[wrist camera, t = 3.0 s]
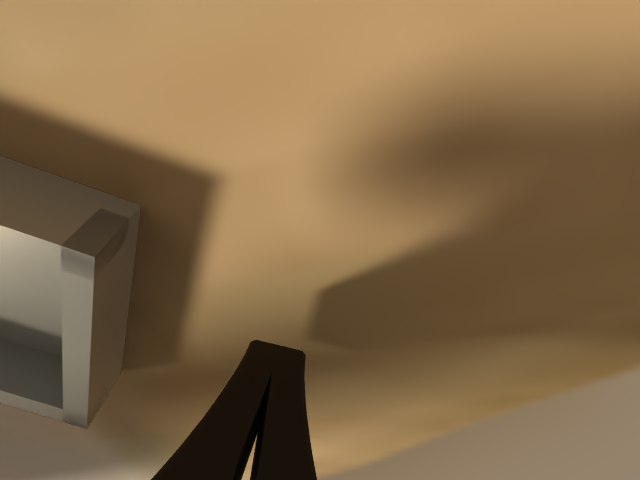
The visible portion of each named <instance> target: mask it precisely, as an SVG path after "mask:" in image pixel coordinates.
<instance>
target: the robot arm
mask: <svg viewBox="0 0 640 480" xmlns="http://www.w3.org/2000/svg"><path fill="white" fill-rule="evenodd" d="M305 356H306V355H305V354H304V353H303V351H300V350H296V349H292V348H288V347H283V346H279V345H275V344H271V343H267V342H262V341H258V340H254V341H252V342H250V345H249V347H248V349H247V351H246V353H245V355H244V357H243V359H242V361H241V362H240V364H239V366H238V368H237V369H236V371H235V373H234V374H233V376H232V377H231V379H230V380H229V382H228V384H227V385H226V387H225V388H224V389H223V391H222V392H221V394H220V395H219V396H218V398H217V399H216V401H215V402H214V404H213V405H212V406H211V408H210V409H209V411H208V412H207V413H206V415H205V416H204V417H203V418H202V420H201V421H200V422H199V424H198V425H197V426H196V427H195V429H194V430H193V431H192V432H191V434H190V435H189V436H188V437H187V439H186V440H185V441H184V442H183V444H182V445H181V446H180V447H179V448H178V450H177V451H176V452H175V453H174V454H173V455H172V457H171V458H170V459H169V460H168V461H167V462H166V463H165V465H164V466H163V467H162V468H161V469H160V470H159V471H158V472H157V474H156V475H155V476H154V477H153V478H152V479H151V480H241V479H242V476H243V473H244V470H245V468H246V465H247V462H248V459H249V456H250V453H251V450H252V447H253V444H254V441H255V439H256V436H257V440H256V446H255V452H254V458H253V464H252V471H251V477H250V480H317V477H316V472H315V466H314V461H313V455H312V449H311V443H310V435H309V428H308V420H307V411H306V399H305V380H304V371H305ZM257 433H258V434H257Z"/></svg>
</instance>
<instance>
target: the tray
mask: <svg viewBox="0 0 640 480" xmlns="http://www.w3.org/2000/svg"><path fill="white" fill-rule="evenodd" d="M140 211H141V205H139V204H136V203H133V202H130V201H128V200H125V199H122V198H119V197H116V196H113V195H111V194H108V193H105V192H102V191H99V190H96V189H94V188H91V187H88V186H85V185H82V184H79V183H77V182H74V181H71V180H68V179H65V178H62V177H60V176H57V175H54V174H51V173H48V172H45V171H43V170H40V169H37V168H34V167H31V166H28V165H26V164H23V163H20V162H17V161H14V160H11V159H9V158H6V157H3V156H0V403H2V404H5V405H9V406H12V407H15V408H19V409H22V410H25V411H29V412H32V413H35V414H39V415H42V416H46V417H49V418H52V419H56V420H59V421H62V422H66V423H69V424H72V425H76V426H79V427H82V428H86V429H87V428H88V426H89V424H90V423H91V421H92V419H93V418H94V416H95V414H96V413H97V411H98V409H99V408H100V406H101V404H102V403H103V401H104V399H105V398H106V396H107V394H108V393H109V391H110V389H111V388H112V386H113V384H114V383H115V381H116V379H117V378H118V376H119V374H120V373H121V371H122V363H123V355H124V346H125V338H126V329H127V321H128V312H129V304H130V296H131V287H132V279H133V270H134V262H135V253H136V245H137V236H138V228H139V220H140Z"/></svg>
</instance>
